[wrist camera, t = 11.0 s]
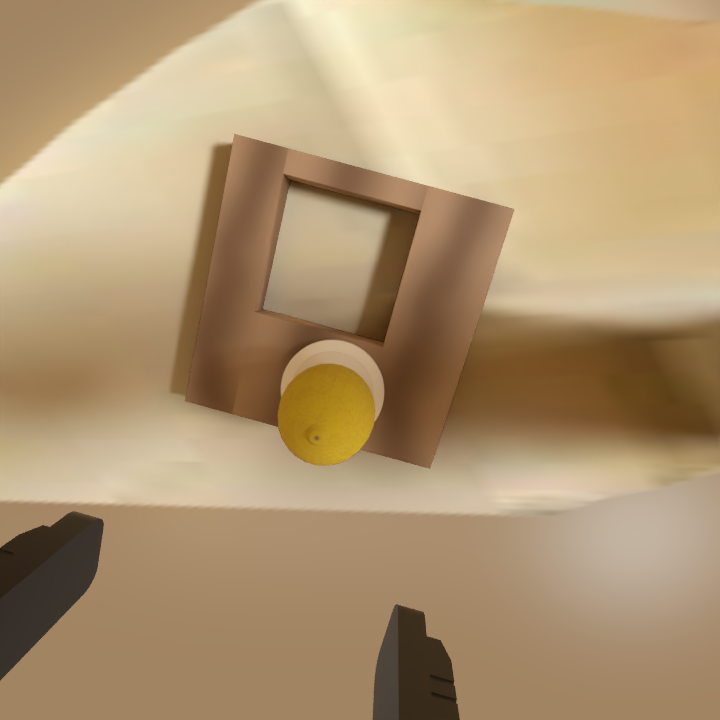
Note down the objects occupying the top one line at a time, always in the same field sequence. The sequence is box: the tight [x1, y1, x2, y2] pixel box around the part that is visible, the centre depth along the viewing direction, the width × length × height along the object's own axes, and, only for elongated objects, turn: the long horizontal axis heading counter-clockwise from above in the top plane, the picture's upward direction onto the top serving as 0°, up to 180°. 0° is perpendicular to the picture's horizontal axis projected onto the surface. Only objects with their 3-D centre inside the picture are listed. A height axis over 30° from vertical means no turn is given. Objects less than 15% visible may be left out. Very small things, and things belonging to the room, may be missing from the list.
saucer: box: [281, 339, 384, 422], centre depth 30 cm, size 7×7×1 cm
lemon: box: [278, 363, 375, 466], centre depth 25 cm, size 6×6×8 cm
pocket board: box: [185, 134, 514, 469], centre depth 30 cm, size 18×18×2 cm
